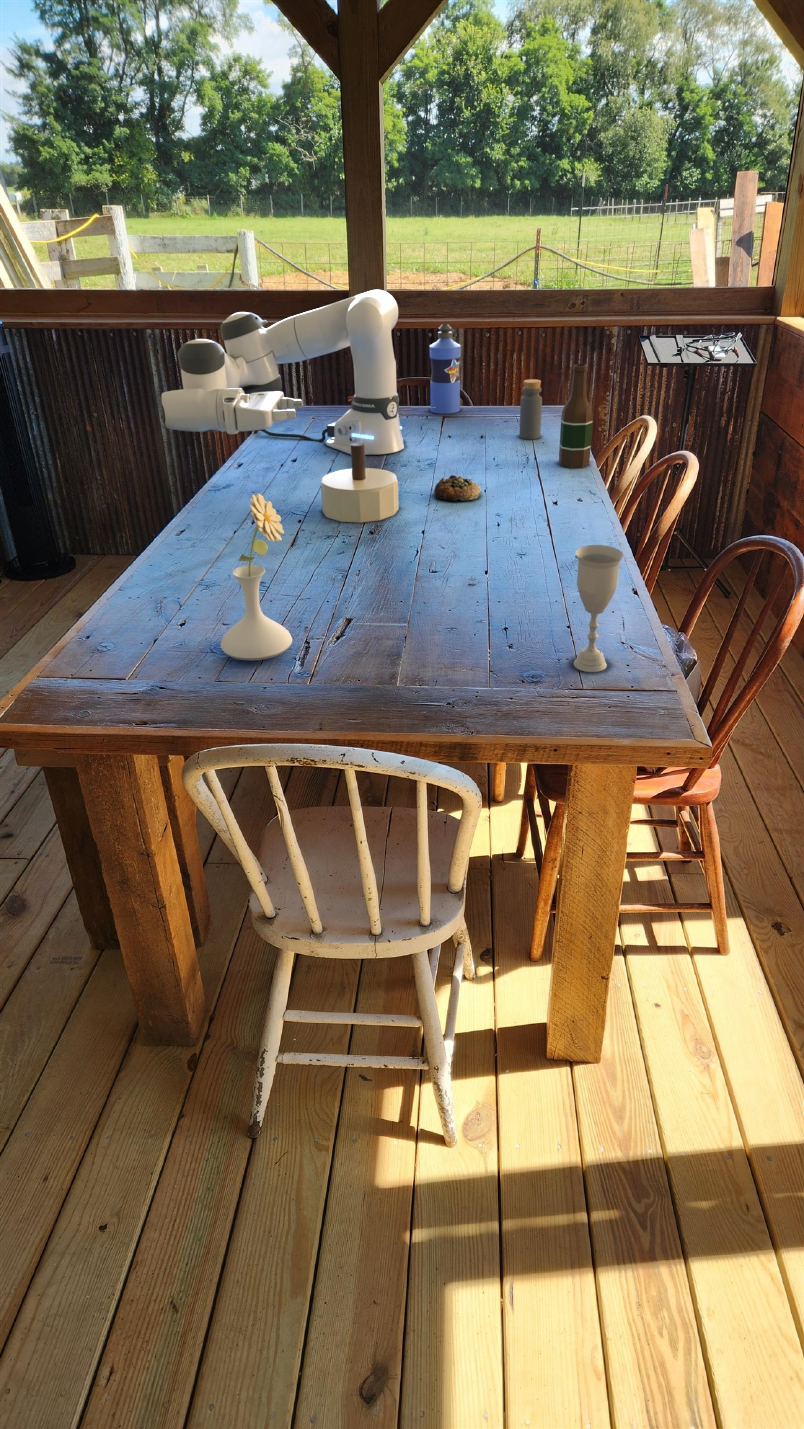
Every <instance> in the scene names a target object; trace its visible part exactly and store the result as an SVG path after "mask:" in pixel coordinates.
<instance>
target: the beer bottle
mask: <svg viewBox="0 0 804 1429" xmlns="http://www.w3.org/2000/svg"><path fill="white" fill-rule="evenodd" d="M572 370H573V371H572V372H573V373H572V381H571V388H570V395H569V399H568V400H567V401H566V403H565V404H564V406H563V409H562V411H561V417H560V434H559V446H558V447H559V448H558V449H559V450H558V462H559V464H560V466H561V467H564V468H569V469H579V468H581V469H582V468H585V467H588V466H589V463H590V458H591V447H592V435H593V432H592V431H593V422H594V421H593V417H594V414H593V409H592V407H591V404H590V402H589V401H588V397H587V396H588V395H587V386H588V385H587V382H588V381H587V377H588V376H587V375H588V374H587V373H588V370H589V366H588V365H587V364H585V363H577V364H573V366H572Z"/></svg>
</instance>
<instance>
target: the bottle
mask: <svg viewBox="0 0 804 1429" xmlns="http://www.w3.org/2000/svg"><path fill="white" fill-rule="evenodd" d="M541 383H542V381H541V380H540V379H531V378H530V379H524V380H523V387H522V388H521V391H522V392H523V395H522V396H521V397H520V405H519V406H520V407H519V408H520V409H519V435H518V436H519V438H520V439H523V440H537V439H540V438H541V432H542V411H543V397H542V396H541V395H540V393H541V392H542V387H541Z"/></svg>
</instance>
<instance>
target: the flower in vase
mask: <svg viewBox="0 0 804 1429" xmlns="http://www.w3.org/2000/svg"><path fill="white" fill-rule="evenodd" d="M249 507H250V513H251V515H252V517H253V521H254V523H255V524H257V525H256V527H255V530H254V532H253V534H252V539H251V546H250V552H249V556H248V555H245V554H241V555H240V557H239V559H238V560H237V562H248V565H242V566H239V567H236V568H234V569H233V570H232V573H231V574H232V575H233V576H234V578H236V579H237V581H238V583H239V584H240V587H241V590H242V594H243V599H244V606H245V608H244V609H245V610H244V615H243V616H242V618H241V619H239V621H238V622H237V623H235V624H234V625H233V626H232V627H230V628H229V629H228V630H227V631H226V633H225V634H223V636H222V637H221V642H220V648H221V650H222V652H223V653H224V654H225V655H226V656H228V657H230V658H232V659H236V660H240V661H249V662H250V661H251V662H253V661H262V660H269V659H272V658H276V657H277V656H280V655H282V654H284V653H285V652H286V651H288V649H289V648H290V646H291V645H292V643H293V637H292V635H291V633H290V631H289V630H288V629H287V628H286V627H284V626H283V625H282V624H280V623H278V622H277V621H274V620H273V619H271V618H269V617H267V616H266V615H264V613H263V611H262V609H261V604H260V583H261V581H262V577H263V575H264V574H265V572H266V569H265V567H263V566H261V565H255V564H253V565H252V561H253V560H254V559H256V556H253V553H254V552H255V553H257V554H258V555H259V556H261V557H262V556H265V555H266V554H267V552H268V550H269V545H268V544H267V542H266V541H265V540H262V539H259V538H257V539H256V536H257V533H258V531H259V532H260V533H261V534H262V535H263V536H264V537H265V538H266V539H267V541H269V542H271V541H272V542H273V543H276V542H280V541H283V540H282V537H281V534H282V535H284V534H285V530H284V529H283V525H282V523H281V520H282V517H281V516H280V515H279V514H277V511H276V509H275V508H273V503H272V502H271V501H270V500H267V501H266V500H265V497H264V496H263V495H262V494H260V493H257V494H256V495H255V494H254V493H253V494H252V495H251V497H250V504H249Z"/></svg>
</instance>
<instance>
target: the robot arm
mask: <svg viewBox="0 0 804 1429" xmlns="http://www.w3.org/2000/svg"><path fill="white" fill-rule="evenodd" d="M398 319H399V306H398V303H397V301H396V300H395V298H394V297H393V295H391V294H390V293H389V292H387V291H385V290H382V289H372V290H369V291H365V292H363V293H359V294H356V295H354V296H351V297H348V298H345V299H342V300H339V301H336V302H333V303H330V304H327V305H324V306H321V307H319V308H315V309H312V310H308V311H305V312H302V313H299V314H295V315H293V316H289V317H287V318H284V319H282V320H280V321H278V322H275V323H274V324H272V325H270V326H269V327H267V328H265V327H264V326H265V325H267V324H269V323H268V321H267V319H262V318H261V317H260V316H259V315H257V314H255V313H253V312H246V311H239V312H235V313H233V314H230V315H229V316H228V317H227V318H225V320H223V321H222V323H221V325H220V328H219V329H220V335H221V336H220V337H221V340H222V341H223V343H224V347H225V348H223V345H221V344H219V343H218V342H217V341H213V340H211V339H206V338H197V339H192V340H189V341H187V342H184V343H183V344H182V345H181V347H180V348H179V350H178V352H177V353H176V354H177V358H178V365H179V368H180V375H181V382H182V389H175V390H169V391H165V392H164V391H163V392H162V393H161V395H160V398H159V404H160V405H159V406H160V413H161V419H162V423H163V425H164V426H165V428H167V429H168V430H173V431H181V432H193V433H194V432H195V433H197V432H201V433H204V432H216V431H218V432H226V434H228V435H236V434H237V435H238V433H239V432H252V431H253V434H258V433H259V432H263V433H265V434H266V435H268V436H271V437H276V438H277V437H279V438H298V439H302V440H306V441H313V442H320V443H322V442H324V441H325V445H326V446H327V447H330V448H332V449H336V450H338V451H341V452H344V453H346V454H348V455H351V444H352V443H364V446H365V456H367V455H387V454H392V453H393V454H394V453H397V452H399V451H402V450H403V449H405V444H404V437H403V436H402V429H403V426H401V422H400V415H399V407H400V398H399V393H398V392H397V391H398V390H397V362H396V358H395V353H394V346H393V338H392V330H393V329H394V328H395V327H396V325H397V322H398ZM348 347H350V352H351V357H352V365H353V381H354V395H351V396H348V397H347V402H351V405H350V409H348V410H347V411H346V412H345V413H344V414H343V415H341V417H340V418H338V419H337V420H336V421H335V422H332V423H329V424H326V428H325V429H323V430H322V432H321V437H320V438H319V439H316V438H312V437H310V436H306V435H304V434H298V433H297V434H296V433H279V432H272V431H269V430H267V429H270V428H271V427H272V426H273V424H274V423H275V422H281V421H286V420H295V419H296V417H297V410H301V409H302V408H303V405H304V404H303V403H304V402H303V399H302V398H292V397H285V394H284V392H283V391H282V389H283V382H282V377H281V374H279V369H278V368H279V367H278V365H282V364H291V363H298V362H302V361H306V360H311V359H313V358H317V357H320V356H324V355H327V354H331V353H334V352H338V351H340V350H343V349H346V348H348ZM225 351H226V352H225ZM277 364H278V365H277ZM326 435H327V438H329V439H327V440H326Z"/></svg>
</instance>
